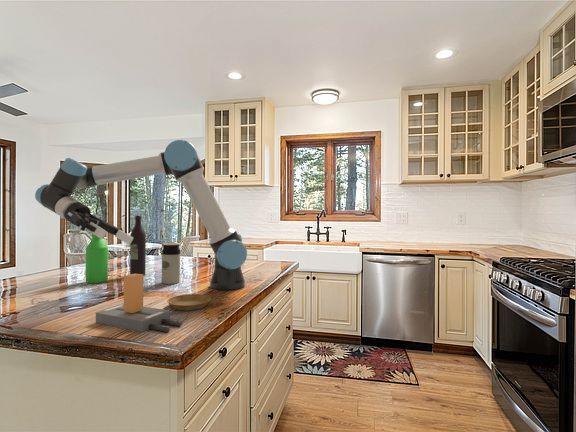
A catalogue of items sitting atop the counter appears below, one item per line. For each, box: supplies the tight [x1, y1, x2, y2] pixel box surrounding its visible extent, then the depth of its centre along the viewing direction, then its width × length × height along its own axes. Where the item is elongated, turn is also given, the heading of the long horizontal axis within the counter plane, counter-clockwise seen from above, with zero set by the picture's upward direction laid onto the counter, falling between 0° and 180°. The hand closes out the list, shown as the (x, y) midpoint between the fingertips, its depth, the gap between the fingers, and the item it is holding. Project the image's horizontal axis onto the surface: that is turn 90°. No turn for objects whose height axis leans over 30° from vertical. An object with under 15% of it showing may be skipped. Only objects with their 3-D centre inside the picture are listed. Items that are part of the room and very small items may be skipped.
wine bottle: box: [129, 215, 147, 277], centre depth 171 cm, size 7×7×30 cm
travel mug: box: [161, 242, 181, 285], centre depth 158 cm, size 8×8×18 cm
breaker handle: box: [123, 273, 144, 313], centre depth 103 cm, size 4×4×11 cm
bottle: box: [85, 233, 109, 284], centre depth 156 cm, size 9×9×25 cm
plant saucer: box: [166, 293, 212, 311], centre depth 121 cm, size 15×15×3 cm
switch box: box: [95, 303, 183, 333], centre depth 102 cm, size 25×11×3 cm, turn 68°
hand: (118, 238), depth 114 cm, fingers open, 13 cm apart
